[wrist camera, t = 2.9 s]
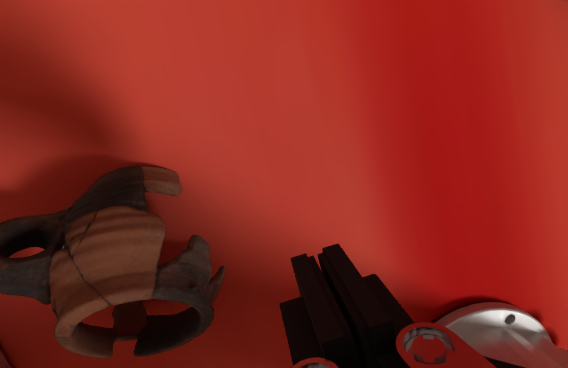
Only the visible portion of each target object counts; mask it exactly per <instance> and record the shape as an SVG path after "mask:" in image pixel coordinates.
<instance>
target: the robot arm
mask: <svg viewBox="0 0 568 368" xmlns="http://www.w3.org/2000/svg"><path fill="white" fill-rule="evenodd" d="M322 250H323V253H320V254H318V259H319V263H320V267H321V270H320V268H319V266H318V264H317V262H316V260H315V258H314V256H310V257H307V255H306V253H305V254H302V255H299V256H296V257H292V258H291V263H292V266H293V270H294V273H295V277H296V281H297V284H298V288H299V292H300V295H301V297H299V298H296V299H292V300H289V301H286V302H283V303H280V309H281V313H282V317H283V322H284V326H285V331H286V335H287V339H288V344H289V348H290V353H291V357H292V361H293V367H292V368H568V350H567V351H566V350H564V349H561V348H558V347H557V346H555V345H554V344H553V343H552V342H551V339H550V337H549V335H548V333H547V331H546V329H545V328H544V327H543V326H542V325H541V323H540V322H539V321H538V320H536V319H535V318H534V317H532V316H531V315H530V314H528V313H527V312H526V311H524V310H522V309H520V308H518V307H516V306H514V305H510V304H506V303H502V302H484V303H477V304H472V305H469V306H466V307H463V308H459V309H457V310H455V311H453V312H451V313H449V314H447V315H445V316H444V317H442V318H441V319H439V320H438V321H437V322H435V323H430V322H419V323H414V322H413V320H412V319H411V318H410V317H409V315H408V314H407V313H406V312H405V310H404V309H403V308H402V306H401V305H400V304H399V303H398V301H397V300H396V299H395V298H394V296H393V295H392V294H391V293H390V291H389V290H388V289H387V288H386V286H385V285H384V284H383V283H382V281H381V280H380V279H379V278H378V276H377V275H376V274H372V275H368V276H365V277H362V276H361V275H360V273H359V272H358V271H357V269H356V268H355V266H354V265H353V264H352V262H351V261H350V259H349V258H348V256H347V255H346V254H345V252H344V251H343V249H342V248H341V247H340V245H339V244H335V245H332V246H328V247H325V248H323V249H322ZM321 271H322V272H321Z"/></svg>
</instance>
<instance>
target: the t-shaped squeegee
mask: <svg viewBox="0 0 568 368" xmlns="http://www.w3.org/2000/svg"><path fill="white" fill-rule="evenodd" d="M0 368H11V367H10V365H9V363H8V362H7V360H6V358H5V357H4V355H3V353H2V352H1V350H0Z"/></svg>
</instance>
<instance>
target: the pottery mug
mask: <svg viewBox="0 0 568 368" xmlns="http://www.w3.org/2000/svg"><path fill="white" fill-rule="evenodd" d="M145 192H156V193H162V194H167V195H172V196H179V195H180V193H181V185H180V183H179V177H178V174H177V173H176V172H174V171H170V170H168V169H164V168H159V167H148V166H143V167H140V166H134V167H127V168H121V169H118V170H115V171H112V172H109V173H107V174H105V175H103V176H102V177H100V178H99V179H98V180H97V181H95V183H94V184H93V185H92V186H91V187H90V188H89V189H88V191H87V192H85V193H84V194H83V195H82V196H81V197H80V198H79V199H78V200H77V201H76V202H75V203H74V204H73V205H72V206H71V207H69V208H68V210H63V211H61V212H58V213H54V214H48V215H37V216H27V217H20V218H15V219H11V220H7V221H5V222H2V223H0V293H1V294H7V295H18V296H26V297H31V298H34V299H36V300H38V301H40V302H41V303H43V304H50V303H51V304H52V308H53V313H54V314H55V316H56V317H57V319H58V321H57V323H56V325H55V328H54V336H55V339H56V340H57V342H58V343H59V344H60V345H61V346H62V347H63V348H65V349H66V350H68V351H70V352H72V353H76V354H79V355H83V356H87V357H93V358H109V357H111V356H112V353H113V343H114V342H115V341H129V340H135V339H138V340H137V343H136V346H135V350H134V356H149V355H154V354H157V353H161V352H165V351H168V350H171V349H174V348H176V347H179V346H181V345H183V344H186V343H187V342H189V341H191V340H192V339H193V338H195V337H197V336H199V335H200V334H202V333H204V331H205V330H206V328H208V327H209V326H210V325H211V323H212V321H213V318H214V309H213V307H212V302H213V301H214V300H215V298H216V297H217V295H218V292H219V290H220V288H221V285H222V283H223V280H224V275H225V270H226V268H225V267H224V266H221V267H219V269H218V271H217V273H216V274H215V276H214V277H212V278H211V275H212V264H211V261H210V258H209V251H210V249H209V245H208V244H207V243H206V242H205V241H204V240H203V239H202V238H201V237H200V236H198V235H193V236H192V237H191V238H190V240H189V243H188V246H187V249H185V250H183V251H182V252H181V253H180V254H178V255H177V256H176V257H175V258H173V259H172V260H170V261H168V262H166V263H164V264H163V265H161V266H158V262H159V258H160V252H161V248H162V245H163V241H164V238H165V235H166V227H165V226H164V222H163V220H162V219H161V218H160V217H159V216H158V215H155V214H153V213H149V212H147V203H146V200H145V195H144V193H145ZM29 247H40V248H43V249H44V251H42V252H40V253H38V254H35V255H32V256H29V257H24V258H8V257H10V256H11V255H12V254H14V253H16V252H18V251H20V250H23V249H26V248H29ZM210 278H211V279H210ZM149 299H158V300H169V301H177V302H181V303H184V304H186V305H189V306H191V307H190V308H188V309H187V310H185V311H183V312H180V313H178V314H175V315H157V316H154V315H151V316H147V314H146V310H145V308H144V307H143V305H142V303H141V302H140V300H149ZM110 305H116V306H115V307H114V309H113V312H112V316H113V318H114V326H113V328H104V327H97V326H90V325H88V324H84V323H82V322H81V321H82V320H83V319H84V318H86V317H87V316H89V315H91V314H93V313H95V312H97V311H100V310H102V309H105V308H107V307H109V306H110Z"/></svg>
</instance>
